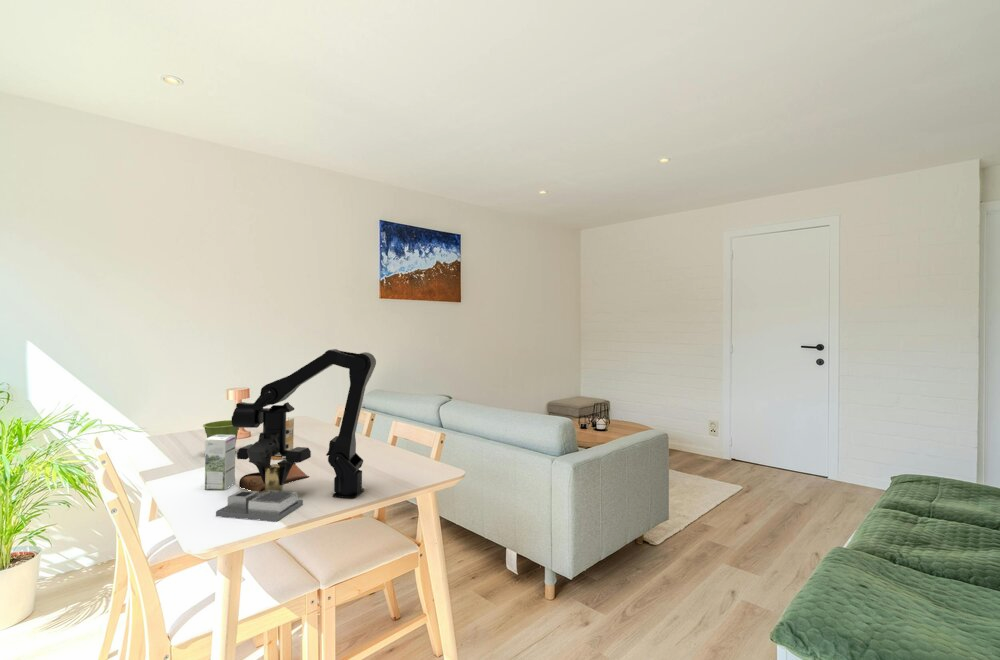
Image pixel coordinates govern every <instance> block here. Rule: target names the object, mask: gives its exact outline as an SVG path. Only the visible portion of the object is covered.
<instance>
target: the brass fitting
mask: <svg viewBox="0 0 1000 660" xmlns="http://www.w3.org/2000/svg"><path fill="white" fill-rule="evenodd" d="M279 479H280V467H279V465H278V464H277V463H275V464H273V463H272V464H270V465H268V466H266V467H265V490H264V493H265V492H267V491H268V490H277V491H283V487H284V484H283V485H280V481H279Z"/></svg>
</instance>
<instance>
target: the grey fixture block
mask: <svg viewBox="0 0 1000 660" xmlns="http://www.w3.org/2000/svg"><path fill="white" fill-rule="evenodd" d="M303 504H304V499H299V492H298V491H290V490H289V491H288V490H286V491H285V490H282V491H277V490H268V491H267V492H265V491H264V492H262V493H261V494H260V492H259V491H248V490H245V489H241V490H239V491H237V492H235V493H233V494H230V495H228V496H227V504H226V506H224V507H222V508H219V509H218V510H216V511H215V517H217V516H222V517H221V518H229V517H235V518H234V519H240V518H248V519H247V520H252V519H260V520H259V521H263V520H267V522H275V521H276V522H279V521H280V520H282V519H283V518H285V517H286V516H288V515H289V514H291V513H292V512H293V511H295V510H297V509H298V508H300V507H301V506H303Z"/></svg>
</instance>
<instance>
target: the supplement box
mask: <svg viewBox="0 0 1000 660" xmlns="http://www.w3.org/2000/svg"><path fill="white" fill-rule="evenodd" d="M294 425H295V417H286V430H289V433H288V434H286V444H289V447H288V448H287V449H286V450H291V449H294V437H295V435H294V434H295V432H294V429H295V428H294V427H295V426H294ZM278 454H280V453H278ZM271 460H282V457H271Z"/></svg>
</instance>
